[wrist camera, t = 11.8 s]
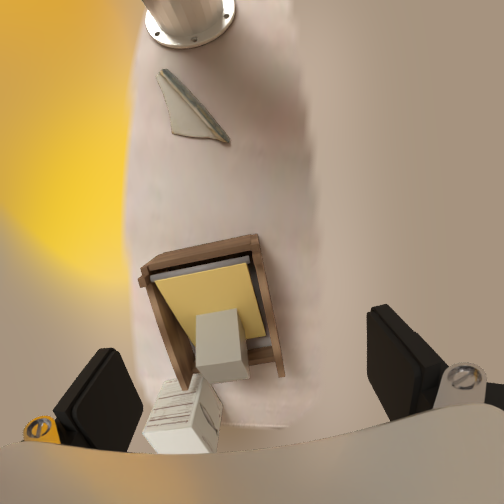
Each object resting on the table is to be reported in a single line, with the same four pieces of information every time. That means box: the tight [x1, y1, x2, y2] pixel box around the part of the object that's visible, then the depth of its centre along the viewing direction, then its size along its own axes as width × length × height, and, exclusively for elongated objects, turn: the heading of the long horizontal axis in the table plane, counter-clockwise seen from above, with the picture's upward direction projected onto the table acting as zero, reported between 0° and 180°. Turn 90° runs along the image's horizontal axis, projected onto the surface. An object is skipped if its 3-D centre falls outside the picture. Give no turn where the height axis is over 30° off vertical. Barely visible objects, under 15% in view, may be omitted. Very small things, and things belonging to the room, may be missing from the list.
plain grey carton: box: [196, 308, 250, 384], centre depth 35 cm, size 5×5×7 cm
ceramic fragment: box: [156, 69, 230, 143], centre depth 34 cm, size 14×5×4 cm, turn 38°
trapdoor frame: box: [138, 234, 285, 391], centre depth 36 cm, size 17×13×8 cm
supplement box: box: [142, 373, 223, 454], centre depth 38 cm, size 7×7×13 cm
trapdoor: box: [150, 255, 266, 347], centre depth 36 cm, size 14×11×1 cm
